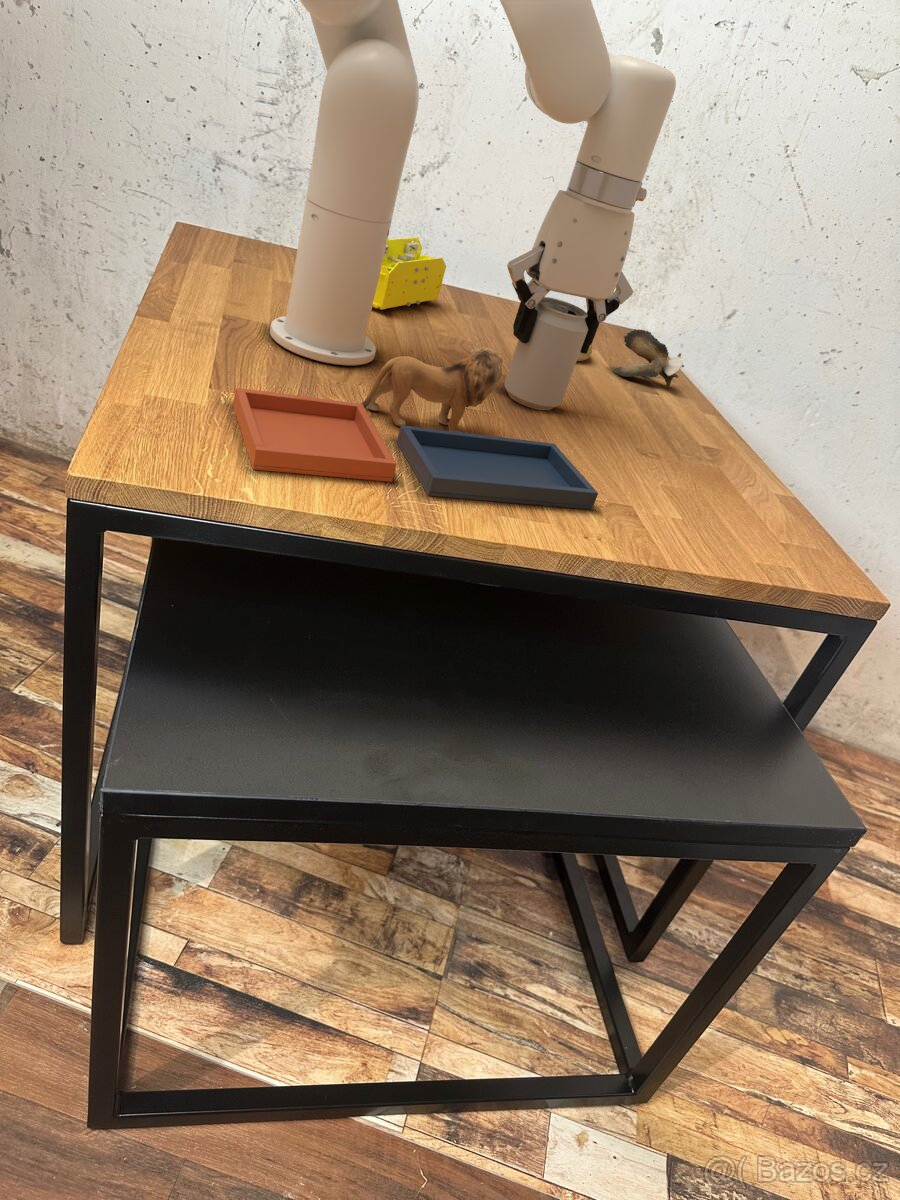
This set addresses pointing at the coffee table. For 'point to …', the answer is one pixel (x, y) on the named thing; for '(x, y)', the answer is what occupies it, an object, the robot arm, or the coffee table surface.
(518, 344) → the can
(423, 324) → the coffee table surface
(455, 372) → the lion figurine
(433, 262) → the yellow toy chassis
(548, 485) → the slate tray
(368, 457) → the terracotta tray
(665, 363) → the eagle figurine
